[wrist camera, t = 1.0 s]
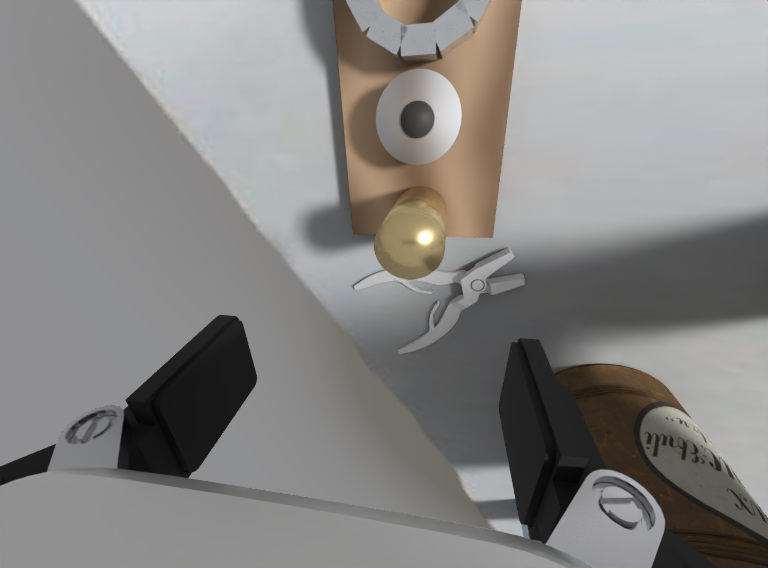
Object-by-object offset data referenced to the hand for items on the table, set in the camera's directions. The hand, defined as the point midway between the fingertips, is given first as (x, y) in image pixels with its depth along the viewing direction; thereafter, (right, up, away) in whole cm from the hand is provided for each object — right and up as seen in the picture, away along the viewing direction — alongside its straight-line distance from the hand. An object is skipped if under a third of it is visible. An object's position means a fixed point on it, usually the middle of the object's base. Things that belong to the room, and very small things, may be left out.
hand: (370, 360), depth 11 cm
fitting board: (+3, +17, +13) cm, 22 cm away
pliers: (+6, +2, +21) cm, 22 cm away
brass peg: (+4, +9, +16) cm, 18 cm away
